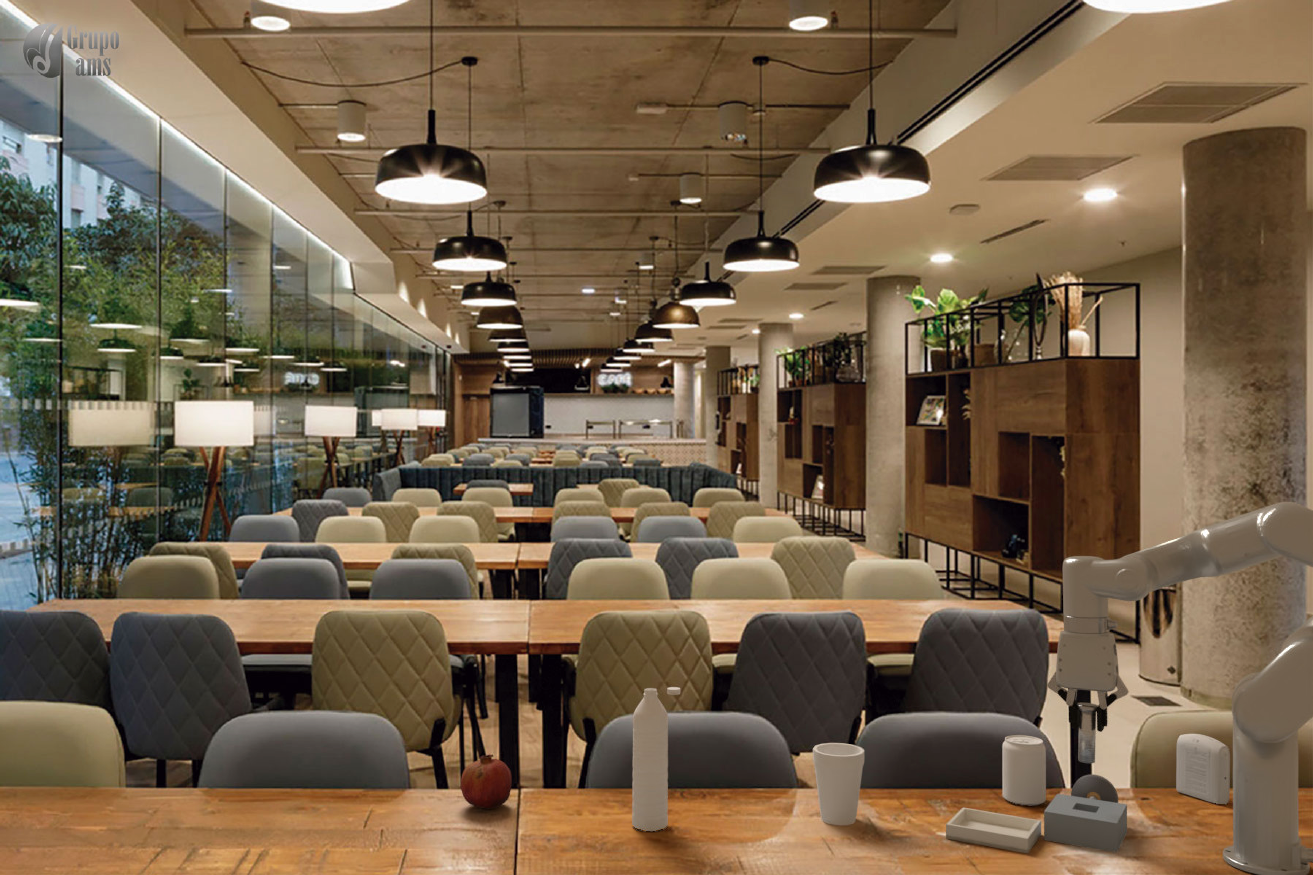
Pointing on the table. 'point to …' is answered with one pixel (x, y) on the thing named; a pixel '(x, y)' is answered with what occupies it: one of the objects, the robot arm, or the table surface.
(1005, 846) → the tray
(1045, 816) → the tensioner block
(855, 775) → the foam cup
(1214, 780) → the photo printer
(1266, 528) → the robot arm
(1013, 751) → the beverage can
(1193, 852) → the table surface
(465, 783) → the fruit
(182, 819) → the table surface
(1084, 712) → the lock pin
